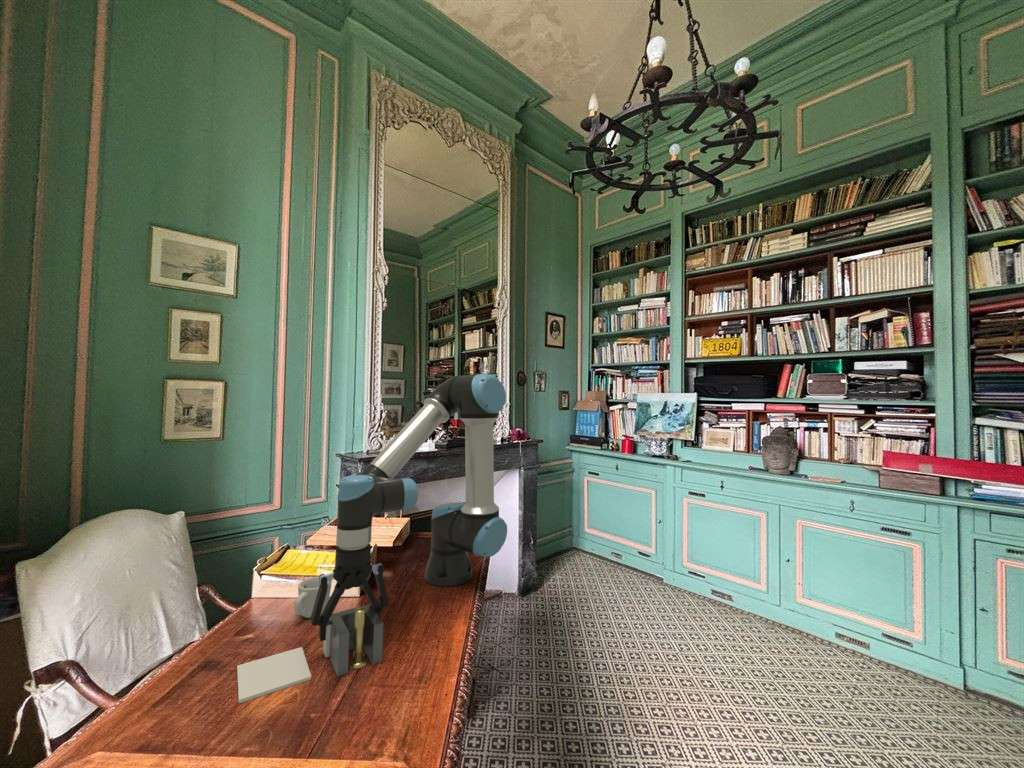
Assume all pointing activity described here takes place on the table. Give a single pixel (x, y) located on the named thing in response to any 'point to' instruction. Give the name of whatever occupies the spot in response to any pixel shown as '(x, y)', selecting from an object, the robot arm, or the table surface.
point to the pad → (271, 674)
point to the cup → (309, 596)
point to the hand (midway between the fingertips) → (349, 646)
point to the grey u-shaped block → (345, 637)
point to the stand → (358, 641)
